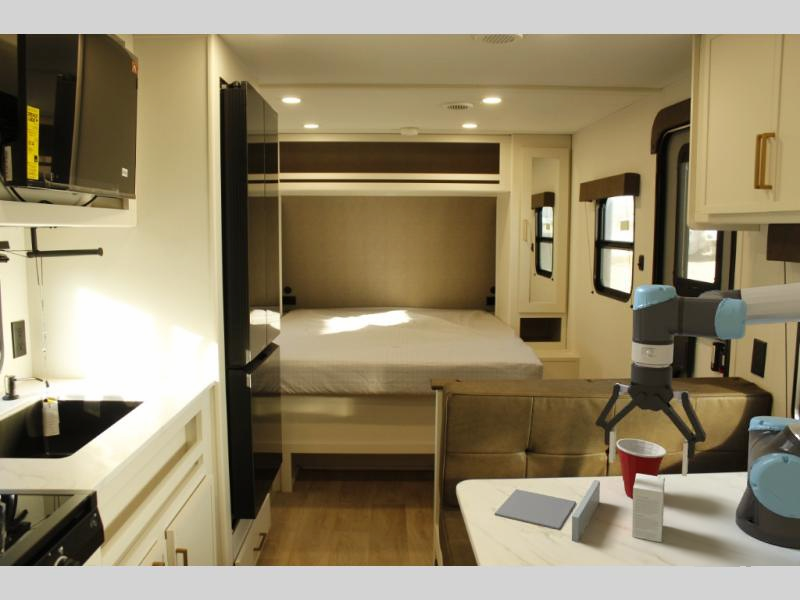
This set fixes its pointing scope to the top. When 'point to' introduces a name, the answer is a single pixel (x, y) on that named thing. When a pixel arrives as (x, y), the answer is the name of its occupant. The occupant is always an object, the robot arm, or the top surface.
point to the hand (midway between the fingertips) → (647, 467)
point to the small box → (648, 507)
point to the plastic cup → (638, 460)
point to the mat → (536, 509)
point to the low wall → (585, 510)
